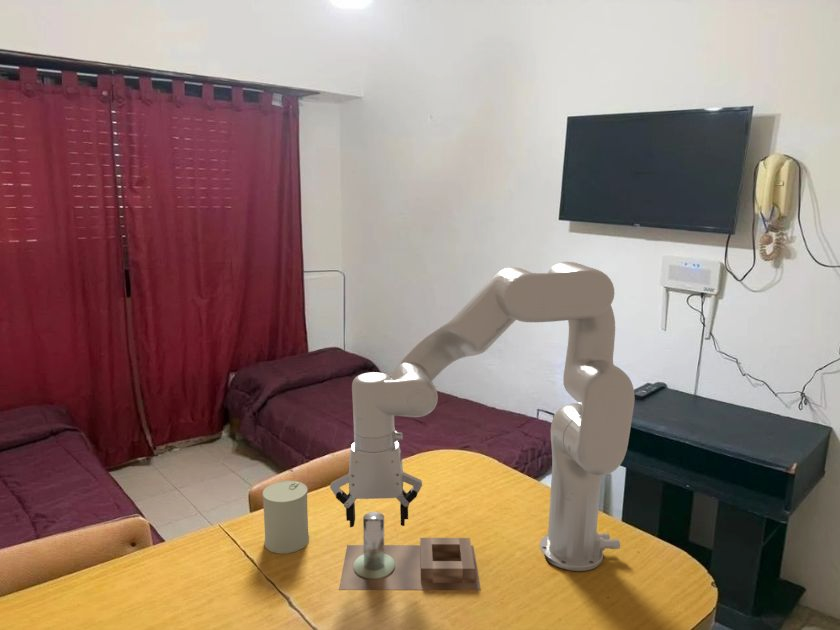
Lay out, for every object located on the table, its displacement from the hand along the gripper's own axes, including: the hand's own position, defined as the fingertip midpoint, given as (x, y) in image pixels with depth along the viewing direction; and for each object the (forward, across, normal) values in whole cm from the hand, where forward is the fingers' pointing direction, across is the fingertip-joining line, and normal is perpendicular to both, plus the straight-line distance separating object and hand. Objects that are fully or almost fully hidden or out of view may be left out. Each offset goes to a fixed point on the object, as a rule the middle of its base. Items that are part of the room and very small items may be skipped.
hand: (377, 522), depth 115 cm
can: (+10, +20, -10) cm, 24 cm away
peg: (+9, +1, 0) cm, 9 cm away
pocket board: (+10, -6, 0) cm, 12 cm away
